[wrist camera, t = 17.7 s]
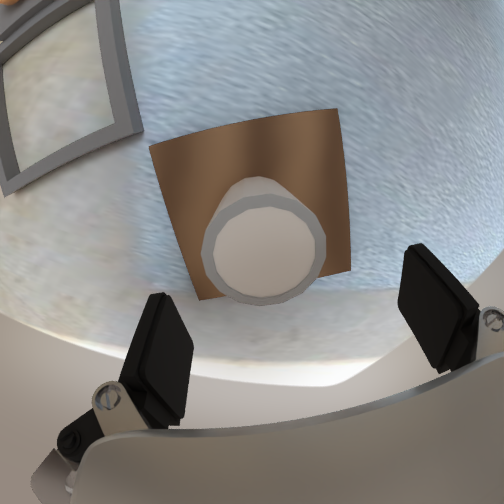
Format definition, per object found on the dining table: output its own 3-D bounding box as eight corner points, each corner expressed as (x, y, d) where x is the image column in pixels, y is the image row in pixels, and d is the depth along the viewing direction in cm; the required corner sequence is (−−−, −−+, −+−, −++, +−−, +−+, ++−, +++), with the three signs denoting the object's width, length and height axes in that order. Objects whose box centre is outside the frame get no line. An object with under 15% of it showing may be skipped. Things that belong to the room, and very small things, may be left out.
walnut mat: (333, 108, 18) (337, 108, 17) (347, 266, 24) (350, 270, 24) (151, 145, 19) (148, 146, 18) (200, 295, 25) (199, 300, 24)
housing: (114, -66, 7) (101, -81, 4) (144, 130, 18) (126, 134, 15) (-3, 11, 8) (-21, 8, 5) (17, 190, 19) (-4, 202, 16)
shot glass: (318, 215, 21) (349, 259, 15) (252, 267, 23) (258, 324, 17) (261, 148, 19) (273, 165, 12) (193, 210, 20) (174, 254, 14)
